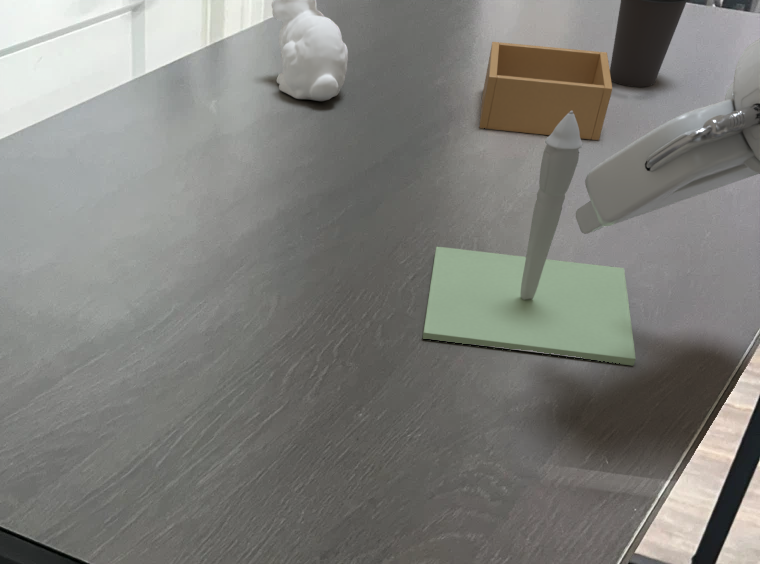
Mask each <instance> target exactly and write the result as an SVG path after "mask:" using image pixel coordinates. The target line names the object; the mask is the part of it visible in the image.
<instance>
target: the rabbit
mask: <svg viewBox="0 0 760 564" xmlns="http://www.w3.org/2000/svg"><path fill="white" fill-rule="evenodd" d="M317 6H318V5H317V0H272V2H271V9H272V12H271V14H272V17H273V18H274V20H275V21H279V22H281V23H282V25H281V28H280V30H279V34H278V46H279V48H280V57H281V62H282V69H283V71H282V72H281V73H279V74H278V76H277V77H276V83H277V84H278V90H280V92H283V93H285V94H287V95H289V96H291V97H292V98H294V99H297V100H309V101H310V100H311V101H315V102H325V101H329V100H330V99H332V98H334V97H337V96H338V95H339V93H340V91H341V89H342V87H343V86H344V84H345V82H346V75H347V71H348V62H349V59H348V58H349V57H348V56H349V51H348V46H347V45H346V43H345V42H344V41H343V37H342V32H341V29H340V27H339V26H338V24H336V22H335V21H333V20H332V19H331V18H329V17H327V16H325V15H324V14H323V13H322V12H321V11H320V10H319V9H318V7H317Z"/></svg>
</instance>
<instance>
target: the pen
mask: <svg viewBox="0 0 760 564" xmlns="http://www.w3.org/2000/svg"><path fill="white" fill-rule="evenodd" d="M544 143H545V148H544V151H543V153H542V158H541V163H540V169H539V180H538V181H539V183H538V186H539V189H538V191H537V193H536V200H535V203H534V208H533V213H532V218H531V224H530V229H529V230H530V231H529V237H528V242H527V243H528V244H527V248H526V249H527V250H526V256H525V257H526V261H525V266H524V272H523V277H522V283H521V298H522V299H523V300H528V299H533V298H534V295H535V293H536V290H537V287H538V284H539V281H540V277H541V274H542V270H543V267H544V264H545V261H546V259H547V258H548V255H549V252H550V249H551V246H552V242H553V241H554V240H553V239H554V237H555V235H556V234H555V233H556V231H557V228H558V224H559V222H560V219H561V214H562V210H563V205H564V201H565V199H566V194H567V192H568V190H569V188H570V185H571V182H572V180H573V178H574V175H575V172H576V169H577V166H578V164H579V157H580V151H579V150H580V149H582V148H583V145H584V144H583V142H582V139H581V138H580V132H579V127H578V124H577V121H576V118H575V115H574V114H573V111H570V112H569V113H568V114H567V115H566V116H565V117H564V118H563V119H562V120H561V121H560V123H559V124H558V125H557V126H556V127H555V129H554V131H553V132H552V134H551V135H548V137H546V138H545V141H544Z"/></svg>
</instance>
